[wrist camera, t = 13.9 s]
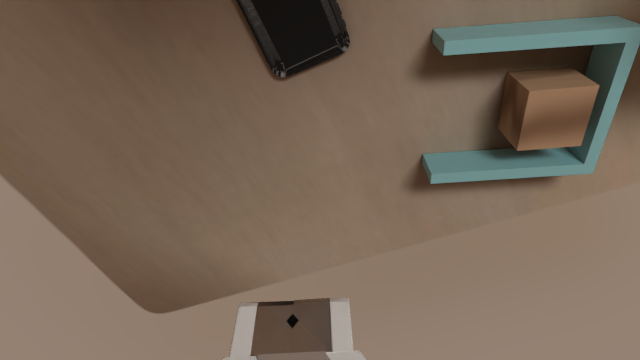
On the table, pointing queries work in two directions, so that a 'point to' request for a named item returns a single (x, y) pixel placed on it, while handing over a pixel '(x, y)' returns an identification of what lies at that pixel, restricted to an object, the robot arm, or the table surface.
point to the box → (603, 32)
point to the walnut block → (546, 108)
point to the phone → (296, 32)
